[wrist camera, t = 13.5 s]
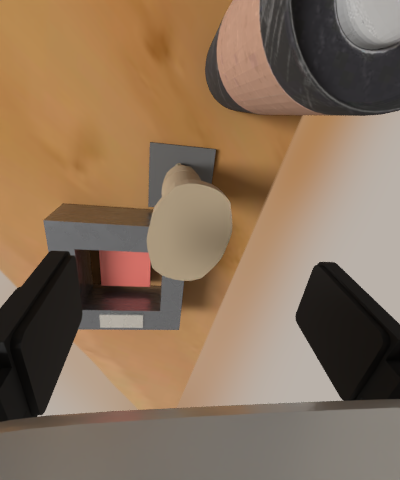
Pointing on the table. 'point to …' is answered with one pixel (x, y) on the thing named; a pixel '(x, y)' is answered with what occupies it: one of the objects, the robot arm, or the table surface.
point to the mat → (171, 155)
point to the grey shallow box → (113, 239)
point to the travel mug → (307, 57)
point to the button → (125, 268)
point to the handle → (188, 226)
